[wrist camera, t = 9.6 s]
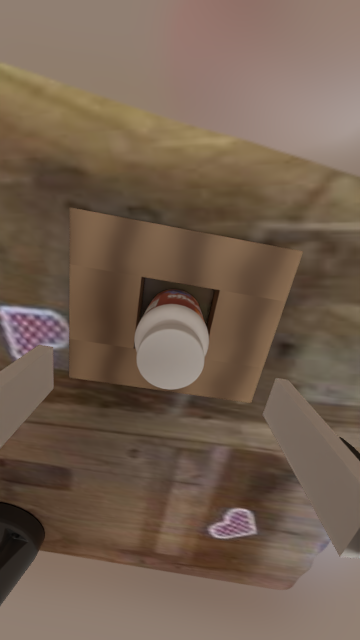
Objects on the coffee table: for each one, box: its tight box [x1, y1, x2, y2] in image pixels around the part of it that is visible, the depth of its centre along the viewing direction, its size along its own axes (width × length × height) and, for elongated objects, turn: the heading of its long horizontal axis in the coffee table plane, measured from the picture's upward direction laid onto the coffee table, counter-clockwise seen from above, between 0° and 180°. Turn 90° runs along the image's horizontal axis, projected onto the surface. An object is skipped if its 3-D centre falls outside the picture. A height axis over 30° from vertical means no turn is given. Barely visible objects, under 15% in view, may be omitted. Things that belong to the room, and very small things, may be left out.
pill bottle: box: [134, 289, 209, 390], centre depth 19 cm, size 6×6×11 cm
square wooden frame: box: [69, 208, 303, 403], centre depth 23 cm, size 22×18×2 cm
